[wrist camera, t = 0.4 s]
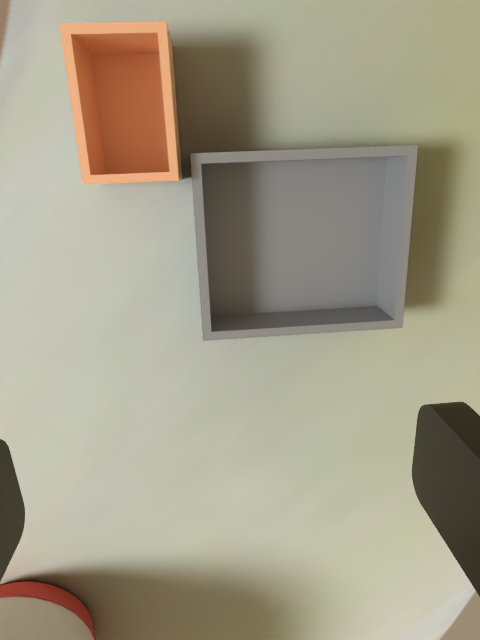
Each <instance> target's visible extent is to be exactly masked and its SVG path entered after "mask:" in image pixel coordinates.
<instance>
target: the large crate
mask: <svg viewBox="0 0 480 640" xmlns="http://www.w3.org/2000/svg"><path fill="white" fill-rule="evenodd" d="M417 152H418V145H400V146H373V147H346V148H320V149H293V150H266V151H240V152H213V153H190V158H191V172H192V186H193V201H194V215H195V230H196V244H197V258H198V273H199V287H200V302H201V316H202V330H203V341H206V340H221V339H237V338H252V337H268V336H283V335H299V334H314V333H330V332H345V331H361V330H376V329H392V328H402V326H403V315H404V303H405V292H406V280H407V268H408V257H409V245H410V234H411V222H412V210H413V199H414V187H415V176H416V164H417Z"/></svg>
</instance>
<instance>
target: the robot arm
mask: <svg viewBox="0 0 480 640" xmlns="http://www.w3.org/2000/svg"><path fill="white" fill-rule="evenodd" d="M412 478H413V484H414V489H415V492H416V495H417V497H418V499H419V501H420V503H421V505H422V506H423V508H424V510H425V511H426V513H427V514H428V516H429V517H430V519H431V521H432V522H433V524H434V525H435V527H436V528H437V530H438V532H439V533H440V535H441V536H442V538H443V539H444V541H445V543H446V544H447V546H448V547H449V549H450V550H451V552H452V554H453V555H454V557H455V558H456V560H457V561H458V563H459V565H460V566H461V568H462V569H463V571H464V572H465V574H466V576H467V577H468V579H469V580H470V582H471V583H472V585H473V587H474V588H475V590H476V591H477V593H478V594H479V596H480V416H479V415H478V414H477V413H476V412H475V411H474V410H473V409H472V408H471V407H470V406H468V405H467V404H466V403H464V402H452V403H440V404H428V405H423V406H422V407H421V408H420V410H419V413H418V418H417V428H416V437H415V446H414V456H413V465H412ZM24 521H25V508H24V502H23V499H22V495H21V491H20V487H19V484H18V480H17V476H16V472H15V469H14V465H13V461H12V458H11V454H10V450H9V447H8V445H7V444H6V442H5V441H3V440H1V439H0V581H1V579H2V577H3V575H4V573H5V571H6V568H7V566H8V564H9V562H10V560H11V558H12V556H13V554H14V552H15V550H16V548H17V545H18V543H19V541H20V539H21V536H22V532H23V528H24Z"/></svg>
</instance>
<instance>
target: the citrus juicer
mask: <svg viewBox="0 0 480 640" xmlns="http://www.w3.org/2000/svg"><path fill="white" fill-rule="evenodd" d="M0 640H96V639H95V633H94V627H93V623H92V619H91V616H90V614H89V611H88V610H87V609H86V607H85V606H84V605H83V603H82V602H81V601H80V600H78V599H77V598H76V597H75V596H74V595H72V594H70V593H69V592H67V591H65V590H63V589H61V588H58V587H56V586H53V585H49V584H44V583H39V582H32V581H27V582H14V583H9V584H5V585H1V586H0Z"/></svg>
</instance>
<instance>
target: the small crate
mask: <svg viewBox="0 0 480 640" xmlns="http://www.w3.org/2000/svg"><path fill="white" fill-rule="evenodd" d="M59 24H60V31H61V38H62V45H63V51H64V58H65V65H66V72H67V79H68V86H69V92H70V99H71V106H72V113H73V120H74V127H75V134H76V140H77V147H78V154H79V161H80V168H81V175H82V181H83V185H85V184H109V183H133V182H157V181H179V180H181V179H182V167H181V154H180V141H179V127H178V114H177V101H176V88H175V75H174V62H173V49H172V43H171V39H170V35H169V31H168V27H167V22H166V21H158V22H104V23H59Z"/></svg>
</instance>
